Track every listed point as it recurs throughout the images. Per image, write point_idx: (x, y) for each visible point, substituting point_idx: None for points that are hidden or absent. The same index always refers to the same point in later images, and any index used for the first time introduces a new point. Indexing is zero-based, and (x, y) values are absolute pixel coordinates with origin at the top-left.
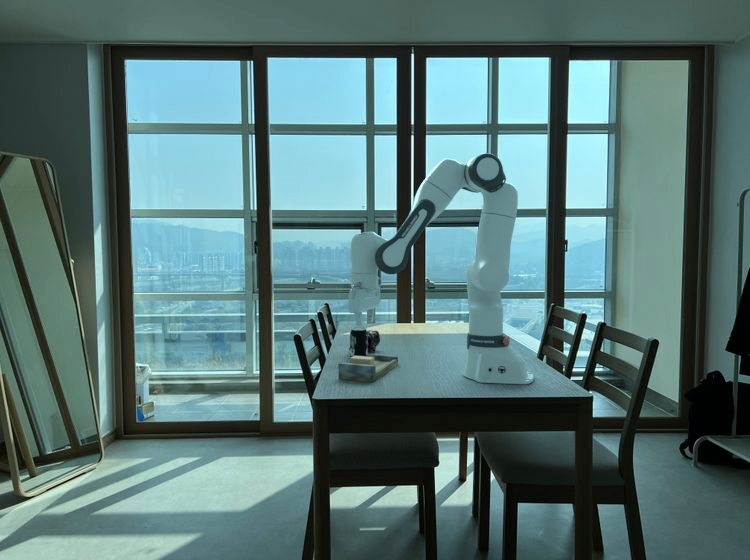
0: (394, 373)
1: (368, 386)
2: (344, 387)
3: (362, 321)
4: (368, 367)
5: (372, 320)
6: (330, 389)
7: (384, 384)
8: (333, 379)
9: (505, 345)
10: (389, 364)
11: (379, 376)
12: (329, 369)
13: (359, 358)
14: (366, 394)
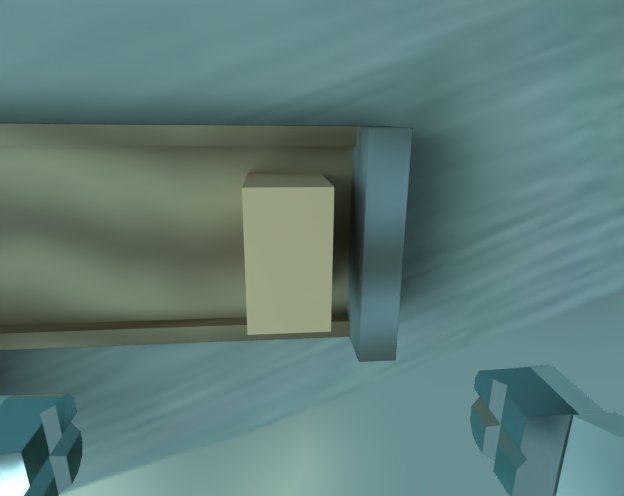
0: (140, 68)
1: (470, 122)
2: (513, 230)
3: (534, 402)
4: (406, 164)
5: (1, 399)
6: (556, 274)
7: (410, 47)
8: None
9: None
10: (69, 124)
11: (282, 125)
12: (212, 434)
13: (324, 270)
14: (611, 79)
